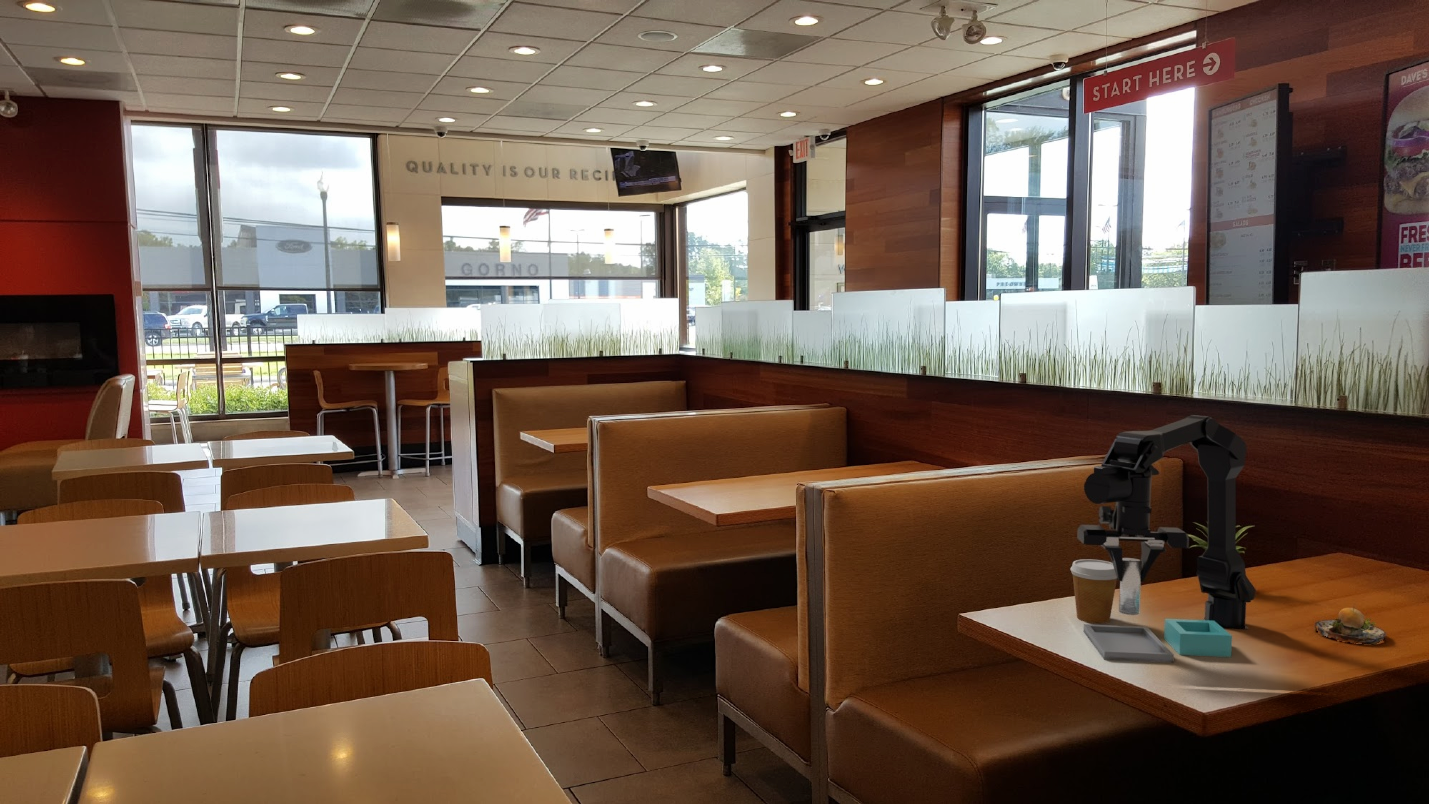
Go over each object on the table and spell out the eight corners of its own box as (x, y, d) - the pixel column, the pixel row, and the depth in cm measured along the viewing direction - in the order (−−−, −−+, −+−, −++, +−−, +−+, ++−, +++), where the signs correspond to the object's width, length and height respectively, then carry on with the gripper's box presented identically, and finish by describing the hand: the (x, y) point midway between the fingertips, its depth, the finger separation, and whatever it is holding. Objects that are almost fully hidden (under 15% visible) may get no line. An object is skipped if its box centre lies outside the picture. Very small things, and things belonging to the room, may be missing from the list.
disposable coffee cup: (1109, 614, 206) (1111, 559, 205) (1124, 629, 197) (1126, 570, 196) (1063, 613, 207) (1065, 558, 206) (1075, 627, 198) (1077, 569, 197)
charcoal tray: (1146, 636, 192) (1146, 626, 192) (1173, 665, 176) (1173, 654, 176) (1083, 634, 193) (1083, 624, 193) (1104, 662, 178) (1104, 651, 178)
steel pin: (1136, 609, 185) (1138, 558, 185) (1141, 615, 182) (1144, 563, 181) (1116, 608, 186) (1118, 557, 185) (1121, 614, 182) (1124, 562, 181)
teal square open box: (1212, 643, 188) (1213, 620, 187) (1230, 659, 179) (1232, 635, 179) (1163, 641, 189) (1164, 618, 189) (1179, 657, 180) (1180, 633, 180)
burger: (1391, 636, 192) (1393, 599, 192) (1379, 651, 184) (1382, 612, 183) (1321, 623, 201) (1323, 588, 200) (1307, 637, 192) (1309, 600, 191)
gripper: (1171, 493, 189) (1168, 572, 190) (1072, 490, 191) (1069, 568, 193) (1191, 504, 178) (1187, 587, 179) (1086, 501, 180) (1082, 583, 182)
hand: (1130, 581), depth 183 cm, fingers closed on steel pin, 4 cm apart
